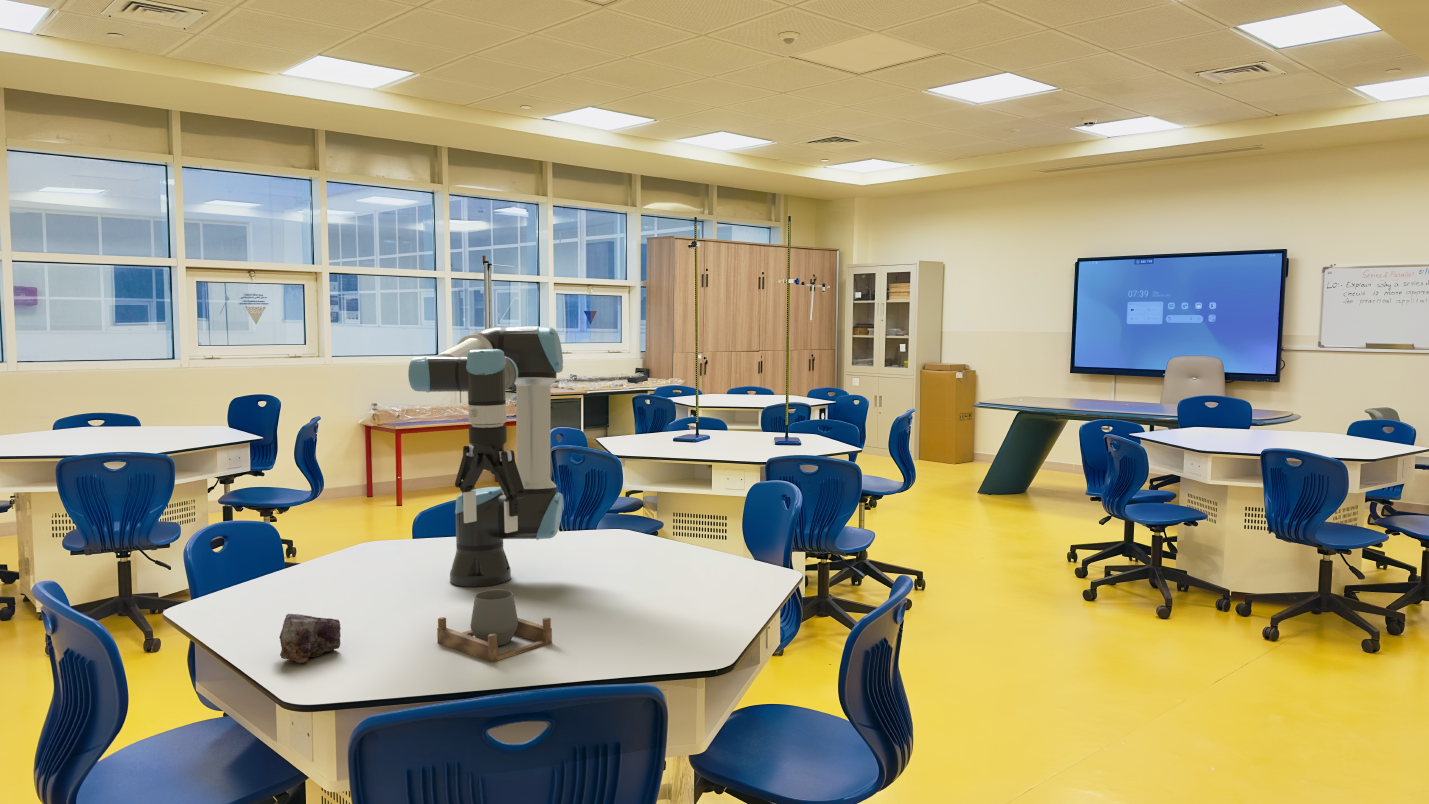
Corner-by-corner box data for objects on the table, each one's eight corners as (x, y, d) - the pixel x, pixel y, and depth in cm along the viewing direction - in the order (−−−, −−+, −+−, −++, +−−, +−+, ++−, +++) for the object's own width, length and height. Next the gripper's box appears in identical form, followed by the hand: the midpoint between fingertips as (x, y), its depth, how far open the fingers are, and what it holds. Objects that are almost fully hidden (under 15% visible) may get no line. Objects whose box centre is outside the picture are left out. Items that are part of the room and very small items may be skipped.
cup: (527, 638, 192) (526, 590, 191) (502, 652, 183) (501, 603, 182) (487, 633, 195) (486, 586, 194) (461, 647, 186) (460, 598, 185)
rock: (344, 659, 183) (314, 648, 189) (350, 616, 183) (320, 606, 189) (289, 668, 173) (259, 656, 179) (295, 622, 174) (265, 611, 179)
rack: (436, 642, 189) (436, 618, 189) (497, 624, 201) (496, 602, 200) (491, 662, 177) (491, 637, 177) (552, 642, 189) (552, 618, 189)
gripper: (435, 421, 195) (439, 521, 197) (511, 431, 179) (514, 539, 181) (465, 418, 201) (468, 515, 203) (542, 427, 185) (544, 532, 187)
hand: (490, 526), depth 192 cm, fingers open, 13 cm apart
